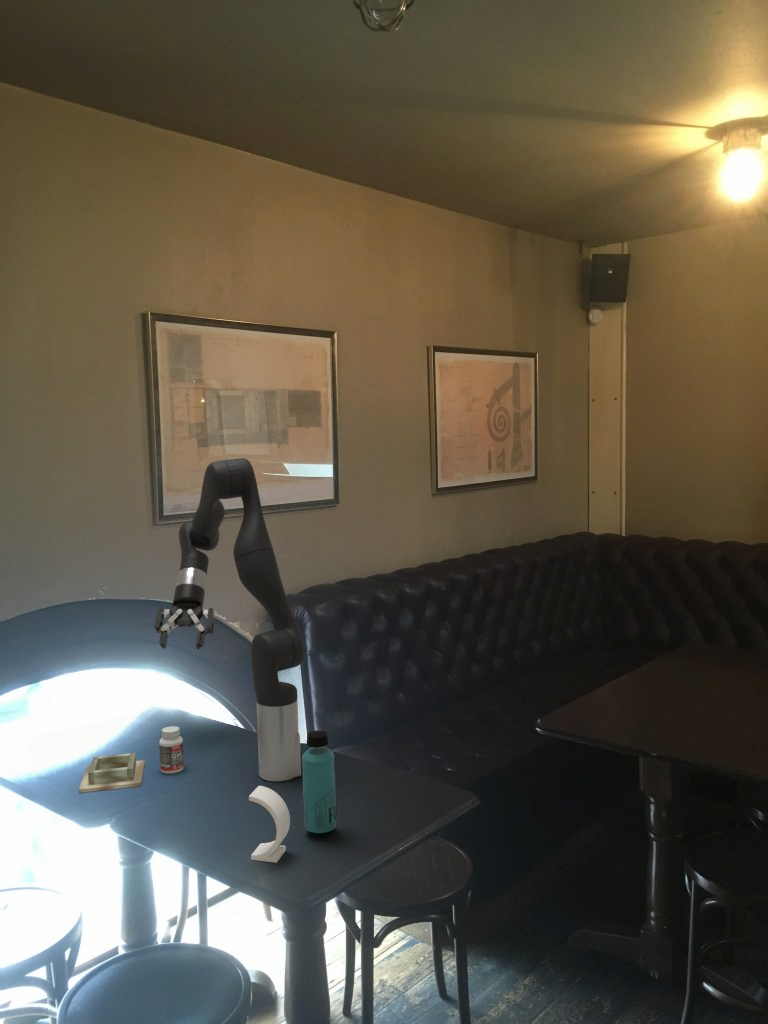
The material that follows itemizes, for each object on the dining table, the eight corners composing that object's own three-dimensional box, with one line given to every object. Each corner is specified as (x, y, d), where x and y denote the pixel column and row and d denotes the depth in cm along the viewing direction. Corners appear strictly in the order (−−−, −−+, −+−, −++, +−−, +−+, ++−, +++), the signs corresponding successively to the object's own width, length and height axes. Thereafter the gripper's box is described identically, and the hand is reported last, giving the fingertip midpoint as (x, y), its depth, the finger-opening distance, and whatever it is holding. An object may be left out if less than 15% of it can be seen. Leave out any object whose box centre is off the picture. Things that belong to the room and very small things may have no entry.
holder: (144, 763, 192) (144, 749, 192) (141, 786, 179) (140, 770, 179) (87, 769, 189) (86, 754, 189) (79, 792, 177) (78, 777, 176)
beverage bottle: (332, 842, 153) (329, 740, 151) (298, 839, 154) (295, 738, 152) (341, 826, 159) (338, 727, 157) (308, 823, 160) (306, 725, 159)
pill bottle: (176, 775, 185) (174, 734, 184) (155, 773, 186) (153, 732, 185) (188, 766, 190) (186, 726, 189) (168, 764, 192) (166, 723, 191)
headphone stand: (260, 847, 152) (258, 785, 150) (291, 850, 150) (289, 788, 149) (250, 859, 147) (248, 796, 146) (281, 863, 146) (279, 799, 145)
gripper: (159, 581, 204) (148, 640, 195) (215, 582, 204) (207, 641, 195) (165, 596, 210) (155, 653, 201) (220, 596, 210) (212, 654, 201)
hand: (180, 647), depth 198 cm, fingers open, 8 cm apart
